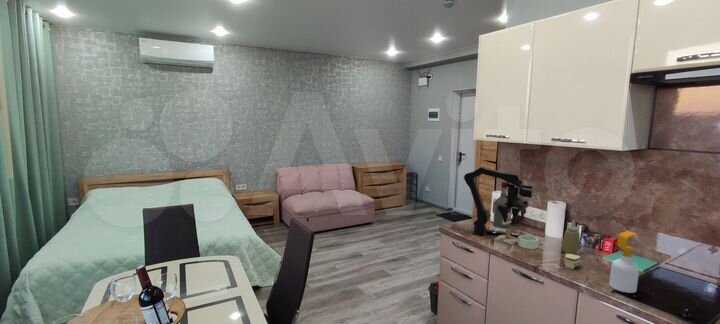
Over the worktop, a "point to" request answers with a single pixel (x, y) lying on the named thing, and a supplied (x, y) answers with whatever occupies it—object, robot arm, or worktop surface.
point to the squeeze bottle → (571, 239)
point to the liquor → (498, 217)
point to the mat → (503, 241)
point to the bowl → (528, 241)
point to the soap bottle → (624, 267)
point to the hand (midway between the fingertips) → (509, 221)
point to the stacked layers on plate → (571, 261)
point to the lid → (508, 237)
